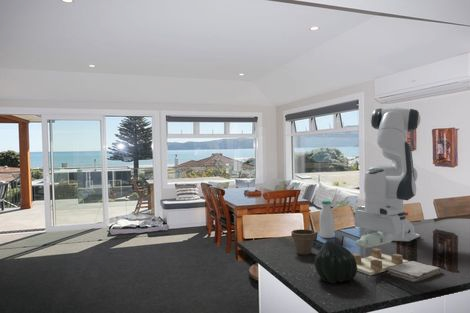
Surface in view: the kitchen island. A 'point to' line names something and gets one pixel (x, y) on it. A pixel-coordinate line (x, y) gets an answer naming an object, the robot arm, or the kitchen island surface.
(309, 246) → the flower pot
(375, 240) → the ceramic bottle
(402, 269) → the washcloth
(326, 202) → the milk bottle
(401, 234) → the robot arm
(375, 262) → the board
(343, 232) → the kitchen island surface
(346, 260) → the squash
